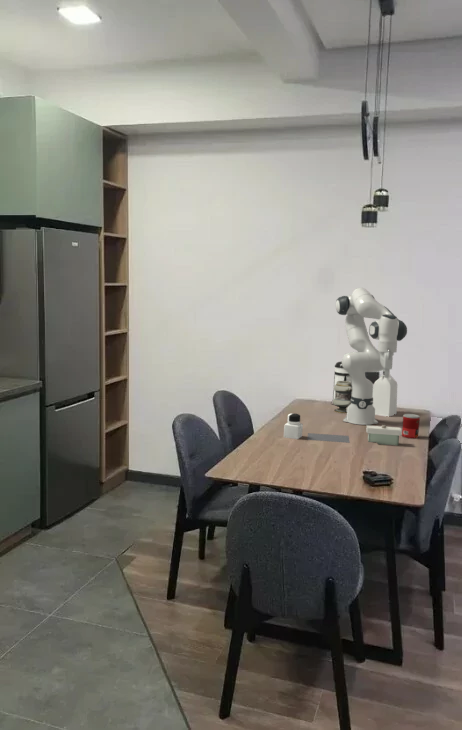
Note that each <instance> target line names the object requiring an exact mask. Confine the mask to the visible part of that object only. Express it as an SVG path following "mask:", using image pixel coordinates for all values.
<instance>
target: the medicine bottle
mask: <svg viewBox="0 0 462 730" xmlns="http://www.w3.org/2000/svg"><path fill="white" fill-rule="evenodd" d="M283 426H284V427H283V438H286V439H294V440H299V439H300V438H302V437H303V427H304V424H303V423H301V415H300V414H299V413H289V414H287V422H286V423H285V424H284V425H283Z"/></svg>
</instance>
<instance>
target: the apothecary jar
mask: <svg viewBox="0 0 462 730" xmlns="http://www.w3.org/2000/svg"><path fill="white" fill-rule="evenodd" d="M333 390H335V399H334V400H333V399H332V400H333V401H332V404H333V405H334V406H336V407H337V408H335V409H334V411H333V412H334V413H339V414H347V412H346V411H347V408H348V406H349V405H350V404H351V393H352V385H351V382H349V381H337V384H336V385H335V386H334V385H333Z"/></svg>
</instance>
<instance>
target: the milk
mask: <svg viewBox="0 0 462 730" xmlns="http://www.w3.org/2000/svg"><path fill="white" fill-rule="evenodd" d="M390 373H391V372H390V371H389V377H388V378H385V377H384V376H385V375H383V374H382V376H380V377H379V378H378V379H377V380H375V381H374V383H373V396H372V397H373V404H372V405H373V407H374V408H375V416H381V417H386V416H388V417H387V418H389V416H390V417H392V416H394V414H395V415H397V410H398V405H397V403H398V382H397V381H396V379H394V377H393V376H392V375H391V374H390Z"/></svg>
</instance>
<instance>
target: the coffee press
mask: <svg viewBox="0 0 462 730" xmlns="http://www.w3.org/2000/svg"><path fill="white" fill-rule="evenodd" d="M337 381H349V382H351V385H352V379H351V377H350V375H349V373H348V372H347V371H346V370H345V369H344V368H343V366H342V360H341V361H338V362H336V363H335V364H334V376H333V387H334V386H335V385H336V384H337ZM332 393H333V394H332V401H331V402H330V404H331V405H334V404H333V400H334V399H335V390H334V389H333V392H332ZM351 396H352V393H351Z"/></svg>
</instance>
